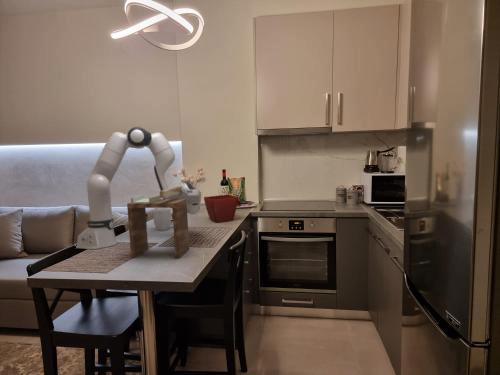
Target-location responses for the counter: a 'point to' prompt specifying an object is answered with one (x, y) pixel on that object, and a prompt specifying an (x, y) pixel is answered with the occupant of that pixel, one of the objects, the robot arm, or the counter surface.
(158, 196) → the sage channel
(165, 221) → the mug
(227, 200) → the plant pot
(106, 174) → the robot arm
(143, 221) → the walnut shelf
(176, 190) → the batten
